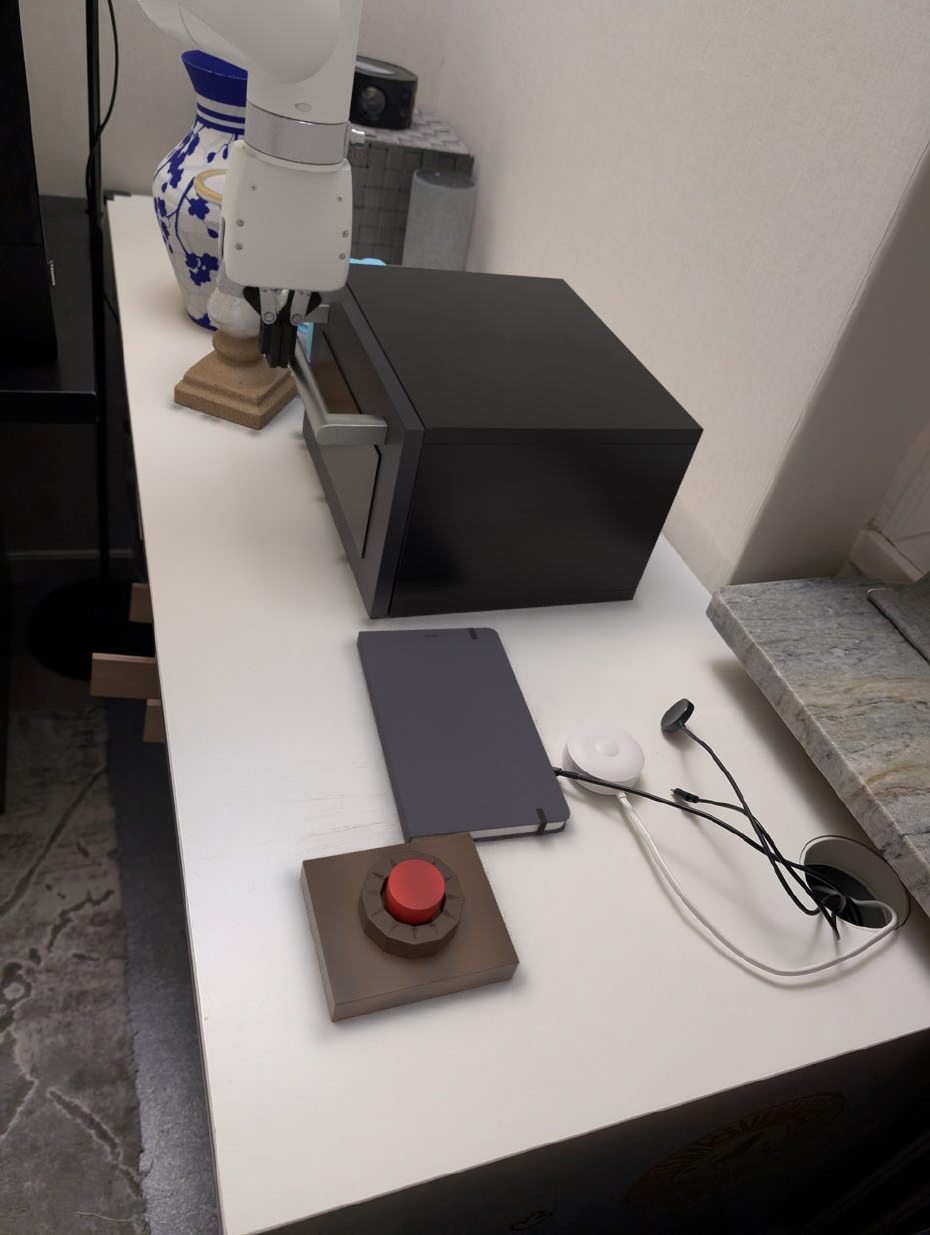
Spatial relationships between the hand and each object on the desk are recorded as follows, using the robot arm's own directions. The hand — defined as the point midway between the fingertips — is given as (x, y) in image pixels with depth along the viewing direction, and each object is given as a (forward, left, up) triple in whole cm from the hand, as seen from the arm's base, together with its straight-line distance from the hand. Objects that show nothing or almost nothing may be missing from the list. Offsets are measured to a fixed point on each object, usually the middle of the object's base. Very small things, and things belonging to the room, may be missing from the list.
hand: (275, 361), depth 79 cm
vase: (-30, +35, -17) cm, 49 cm away
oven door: (+3, +3, -17) cm, 17 cm away
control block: (+33, -32, -17) cm, 49 cm away
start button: (+33, -32, -13) cm, 48 cm away
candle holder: (-16, +17, -17) cm, 29 cm away
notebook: (+29, -14, -17) cm, 36 cm away
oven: (+16, +15, -17) cm, 27 cm away
